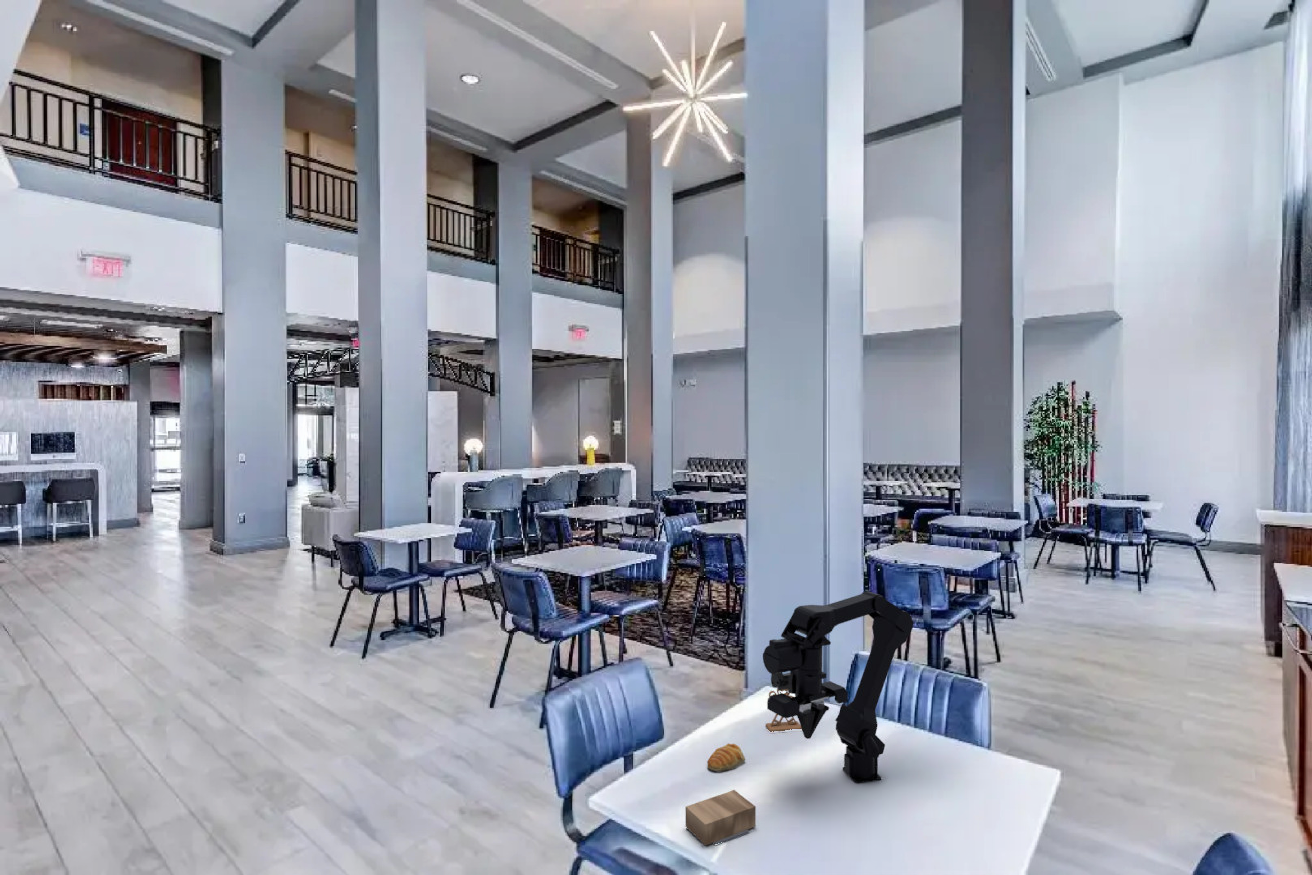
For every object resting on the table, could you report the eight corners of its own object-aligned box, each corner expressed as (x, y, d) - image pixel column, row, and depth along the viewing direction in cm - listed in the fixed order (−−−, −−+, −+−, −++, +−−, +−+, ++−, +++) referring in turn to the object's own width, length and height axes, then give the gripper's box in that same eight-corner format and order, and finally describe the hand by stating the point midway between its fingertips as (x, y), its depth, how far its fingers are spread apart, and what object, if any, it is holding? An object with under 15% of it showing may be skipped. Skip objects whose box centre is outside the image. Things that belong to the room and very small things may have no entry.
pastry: (722, 777, 154) (722, 761, 154) (699, 767, 159) (699, 751, 159) (747, 763, 161) (747, 747, 161) (724, 753, 165) (724, 738, 165)
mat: (725, 812, 140) (725, 810, 140) (749, 832, 133) (749, 830, 133) (692, 824, 136) (692, 822, 136) (715, 845, 129) (715, 843, 129)
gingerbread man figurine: (797, 724, 181) (797, 679, 181) (802, 730, 177) (802, 685, 177) (765, 726, 179) (765, 681, 179) (770, 733, 176) (770, 687, 175)
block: (734, 789, 140) (685, 806, 134) (755, 806, 134) (705, 824, 128) (734, 808, 140) (685, 826, 134) (755, 826, 134) (705, 845, 128)
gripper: (813, 649, 159) (812, 715, 159) (751, 662, 149) (750, 732, 149) (849, 663, 149) (848, 733, 149) (785, 678, 139) (784, 754, 140)
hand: (807, 737), depth 147 cm, fingers closed
